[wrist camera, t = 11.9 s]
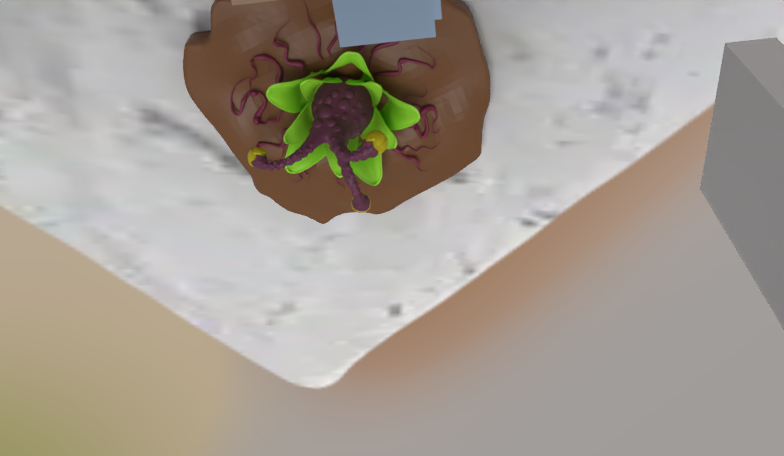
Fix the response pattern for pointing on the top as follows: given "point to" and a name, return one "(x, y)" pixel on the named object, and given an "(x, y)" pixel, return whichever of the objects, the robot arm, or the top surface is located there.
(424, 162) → the plant
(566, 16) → the top surface
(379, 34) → the light blue forked piece
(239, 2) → the stand
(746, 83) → the robot arm
